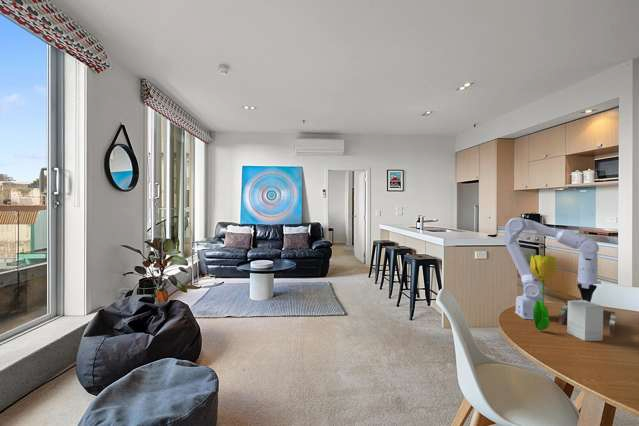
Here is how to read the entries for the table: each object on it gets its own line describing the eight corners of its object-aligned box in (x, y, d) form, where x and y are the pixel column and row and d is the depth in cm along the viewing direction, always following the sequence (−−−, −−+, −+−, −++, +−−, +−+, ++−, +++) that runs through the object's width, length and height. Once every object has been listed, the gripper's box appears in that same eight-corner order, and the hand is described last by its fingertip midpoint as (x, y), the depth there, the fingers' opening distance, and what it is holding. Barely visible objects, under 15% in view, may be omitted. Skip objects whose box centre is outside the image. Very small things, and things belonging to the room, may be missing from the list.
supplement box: (603, 340, 108) (604, 306, 107) (584, 341, 107) (585, 306, 107) (583, 332, 115) (585, 299, 115) (566, 332, 115) (567, 300, 114)
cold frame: (564, 313, 135) (564, 302, 135) (615, 324, 123) (615, 312, 123) (558, 323, 123) (558, 311, 123) (614, 336, 111) (614, 323, 111)
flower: (559, 337, 110) (562, 256, 109) (535, 335, 112) (537, 255, 111) (547, 327, 119) (549, 253, 118) (524, 326, 120) (526, 252, 120)
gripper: (600, 273, 111) (598, 309, 111) (602, 268, 121) (601, 301, 121) (575, 270, 116) (574, 305, 116) (579, 265, 126) (578, 297, 126)
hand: (586, 302), depth 119 cm, fingers closed
